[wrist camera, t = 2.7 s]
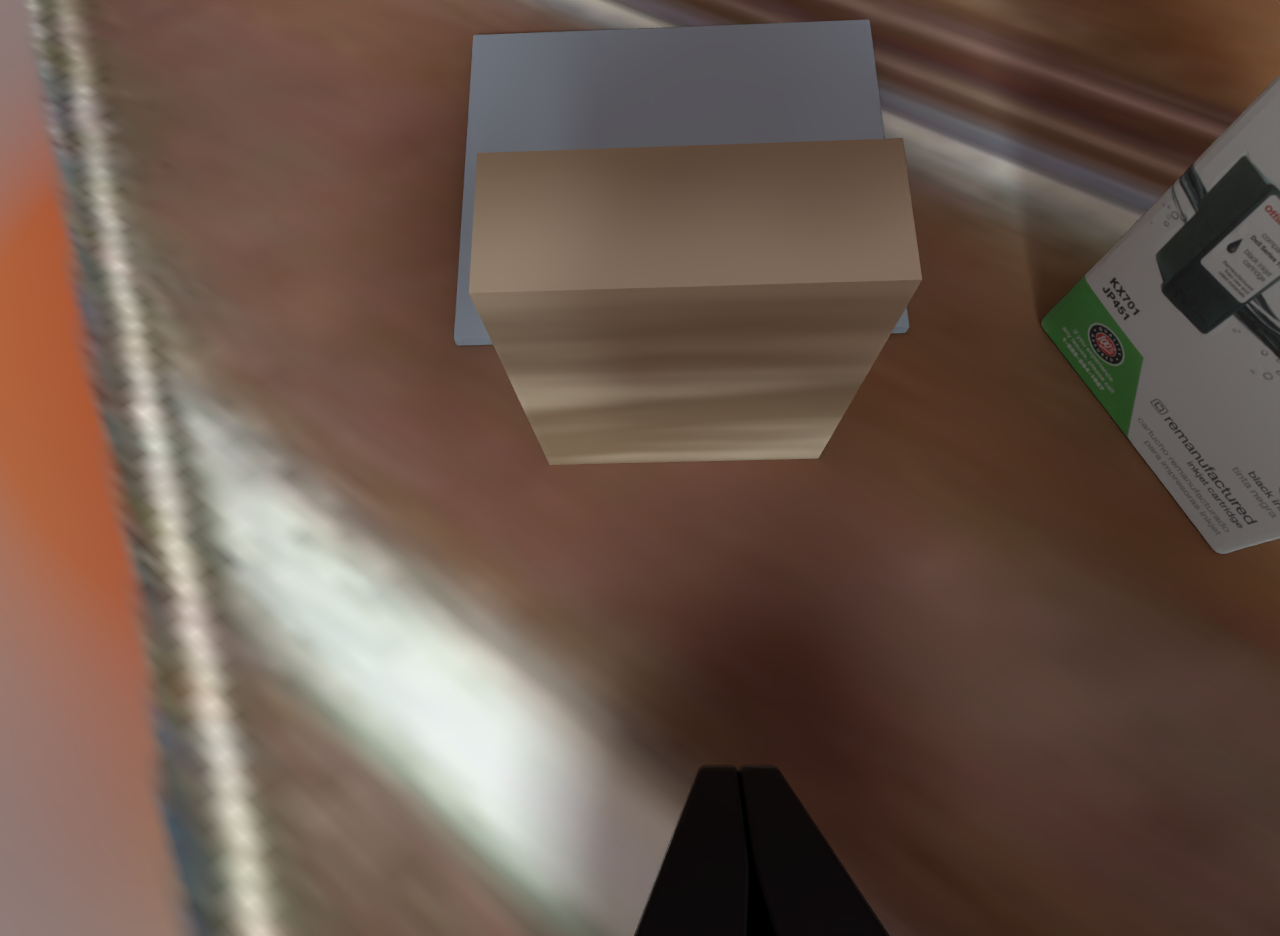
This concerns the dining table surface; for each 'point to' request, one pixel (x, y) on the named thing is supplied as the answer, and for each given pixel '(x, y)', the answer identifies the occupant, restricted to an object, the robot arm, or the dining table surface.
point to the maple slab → (691, 292)
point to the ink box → (1196, 333)
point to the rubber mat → (663, 98)
